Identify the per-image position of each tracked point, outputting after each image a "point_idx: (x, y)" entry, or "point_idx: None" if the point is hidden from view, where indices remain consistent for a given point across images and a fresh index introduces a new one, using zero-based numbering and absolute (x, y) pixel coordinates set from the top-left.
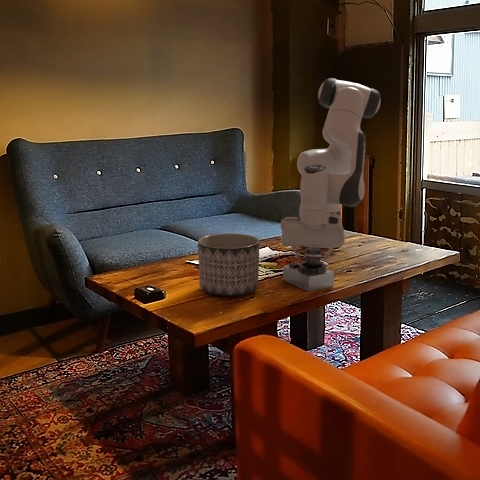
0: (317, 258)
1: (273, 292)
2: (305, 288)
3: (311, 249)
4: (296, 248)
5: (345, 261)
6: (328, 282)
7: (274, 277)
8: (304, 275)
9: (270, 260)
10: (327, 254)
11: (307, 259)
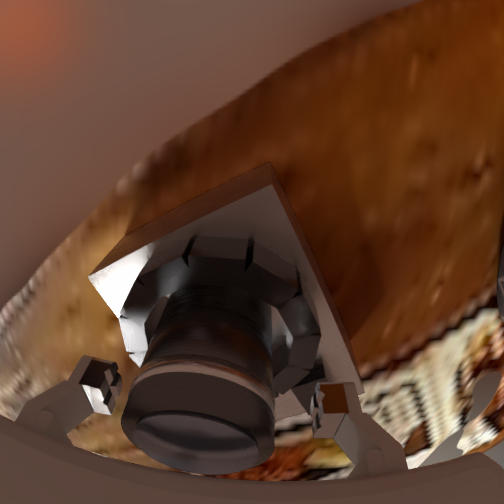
0: (167, 346)
1: (448, 181)
2: (283, 191)
3: (213, 445)
4: (368, 455)
5: (104, 443)
6: (139, 233)
7: (371, 369)
8: (296, 233)
9: (317, 472)
10: (82, 381)
11: (262, 358)
